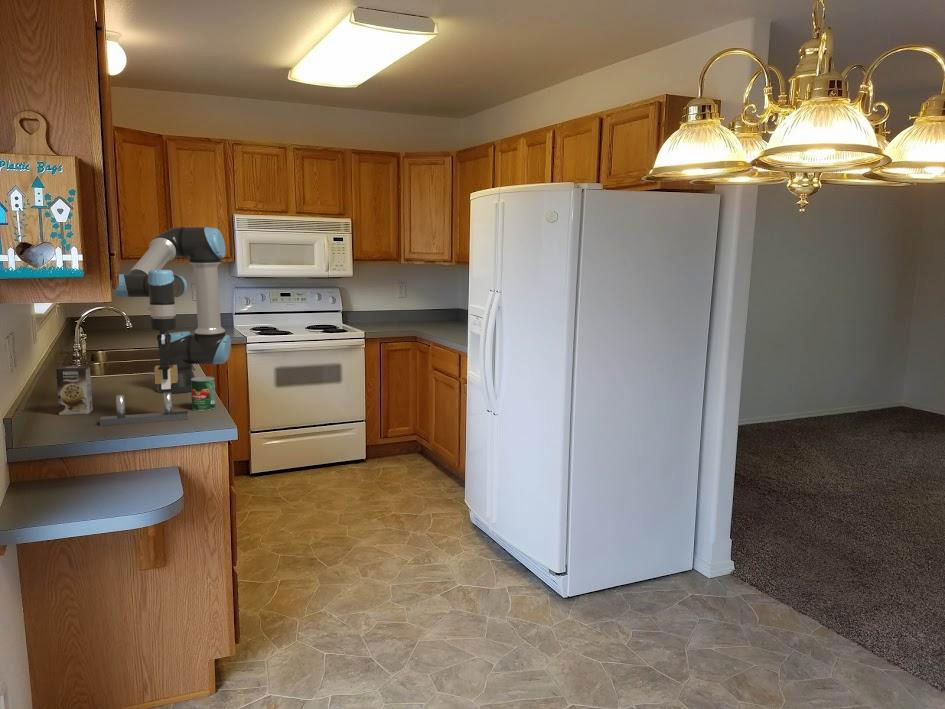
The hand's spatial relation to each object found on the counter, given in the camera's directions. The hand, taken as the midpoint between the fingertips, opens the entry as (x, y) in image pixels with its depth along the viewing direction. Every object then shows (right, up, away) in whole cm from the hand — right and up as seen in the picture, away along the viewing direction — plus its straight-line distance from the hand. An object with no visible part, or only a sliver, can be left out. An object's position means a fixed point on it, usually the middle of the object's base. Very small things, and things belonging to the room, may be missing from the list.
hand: (166, 386), depth 223 cm
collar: (0, +2, 0) cm, 2 cm away
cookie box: (-35, -10, +9) cm, 38 cm away
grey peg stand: (-7, -11, -1) cm, 13 cm away
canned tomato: (+5, -9, +18) cm, 21 cm away
